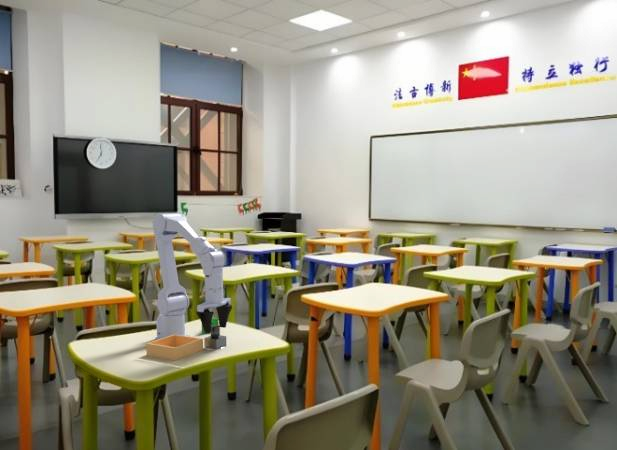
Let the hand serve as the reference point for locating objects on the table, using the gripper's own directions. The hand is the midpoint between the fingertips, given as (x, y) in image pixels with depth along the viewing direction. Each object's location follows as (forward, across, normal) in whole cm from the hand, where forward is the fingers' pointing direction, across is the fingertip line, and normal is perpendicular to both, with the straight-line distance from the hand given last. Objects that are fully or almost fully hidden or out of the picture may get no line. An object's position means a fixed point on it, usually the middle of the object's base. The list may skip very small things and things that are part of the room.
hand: (215, 329), depth 164 cm
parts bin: (+6, -10, +8) cm, 14 cm away
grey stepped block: (+6, 0, 0) cm, 6 cm away
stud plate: (+6, 0, 0) cm, 6 cm away
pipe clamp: (+6, +17, +16) cm, 24 cm away
